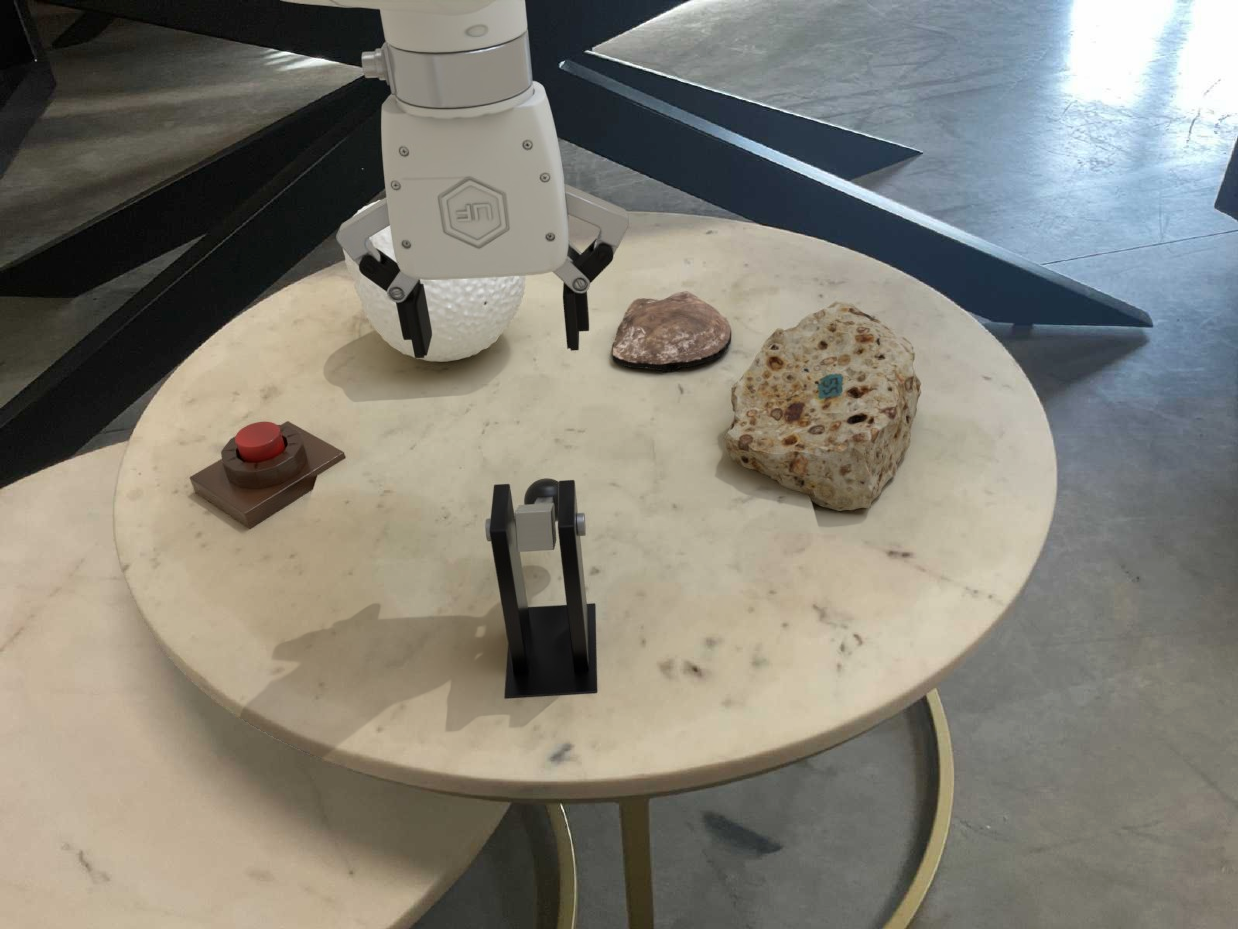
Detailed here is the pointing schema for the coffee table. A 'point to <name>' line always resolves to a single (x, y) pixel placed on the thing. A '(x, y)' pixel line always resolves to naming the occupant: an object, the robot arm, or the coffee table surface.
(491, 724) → the coffee table surface
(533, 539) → the lever
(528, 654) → the bracket
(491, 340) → the decorative orb
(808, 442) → the rock
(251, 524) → the control block
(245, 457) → the button
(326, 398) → the coffee table surface
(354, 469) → the coffee table surface
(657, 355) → the shell
